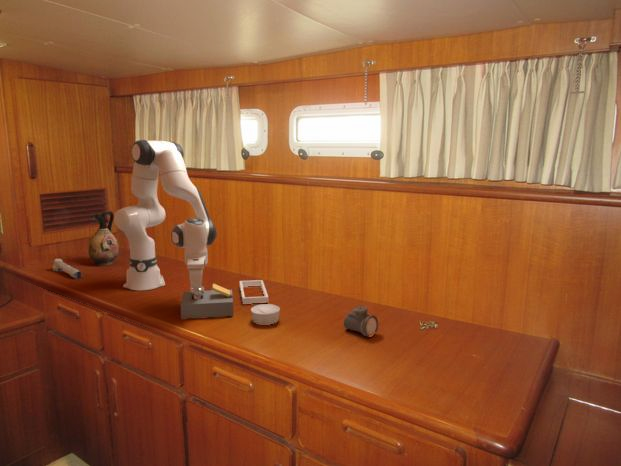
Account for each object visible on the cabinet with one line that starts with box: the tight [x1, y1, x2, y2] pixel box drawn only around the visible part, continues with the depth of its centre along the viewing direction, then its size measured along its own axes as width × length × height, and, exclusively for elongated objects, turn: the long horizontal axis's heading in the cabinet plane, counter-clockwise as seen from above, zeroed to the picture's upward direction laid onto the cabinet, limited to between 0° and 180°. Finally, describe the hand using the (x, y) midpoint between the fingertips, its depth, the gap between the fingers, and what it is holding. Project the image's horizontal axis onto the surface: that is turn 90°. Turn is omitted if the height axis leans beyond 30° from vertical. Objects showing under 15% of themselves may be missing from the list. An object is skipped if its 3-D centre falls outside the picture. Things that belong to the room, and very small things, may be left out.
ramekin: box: [250, 303, 281, 326], centre depth 171 cm, size 11×11×5 cm
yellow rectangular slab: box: [211, 283, 234, 298], centre depth 181 cm, size 6×9×1 cm
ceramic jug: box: [88, 210, 120, 267], centre depth 246 cm, size 17×15×30 cm
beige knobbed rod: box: [52, 258, 83, 280], centre depth 227 cm, size 5×7×25 cm
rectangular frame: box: [239, 279, 269, 305], centre depth 201 cm, size 25×11×3 cm, turn 12°
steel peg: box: [189, 285, 205, 299], centre depth 179 cm, size 6×6×8 cm
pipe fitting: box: [343, 305, 379, 338], centre depth 162 cm, size 12×8×10 cm
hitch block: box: [180, 289, 234, 320], centre depth 181 cm, size 16×20×6 cm
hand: (197, 292), depth 179 cm, fingers closed on steel peg, 5 cm apart
